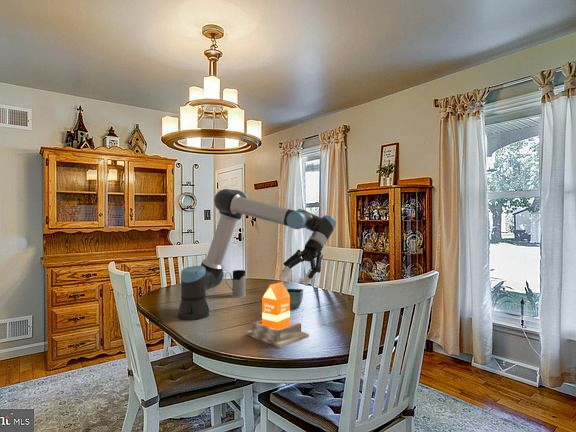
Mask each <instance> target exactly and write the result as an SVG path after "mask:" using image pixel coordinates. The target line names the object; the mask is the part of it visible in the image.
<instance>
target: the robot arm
mask: <svg viewBox="0 0 576 432" xmlns="http://www.w3.org/2000/svg"><path fill="white" fill-rule="evenodd" d="M213 203H214V206H215V208H216V210H218V213H219V216H220V217H219V220H218V223H217V226H216V229H215V232H214V234H213V238H212V240H211V243H210V246H209V249H208V252H207V255H206V258H204V259H202V260H201V264H200V265H193V266H187V267H185V268H183V269H181V273H180V303H179V306H178V309H177V312H176V313H177V314H176V316H177V318H178V319H179V320H186V321H188V320H189V321H193V320H194V321H195V320H201V319H204V318H207V317H208V316H210V309H209V305H208V302H207V300H206V299H207V297H206V294H207V293H206V291H208V290H210V289H214V288H216V287H217V286H219V285H220V284H221V283H222V282H223V280H224V279H225V272H224V264H223V262H224V259H225V255H226V253H227V250H228V247H229V244H230V241H231V238H232V236H233V233H234V230H235V227H236V224H237V222H238V221H240V220H241V219H242V216H243V215H244V216H248V217H251V218H256V219H260V220H263V221H267V222H271V223H275V224H279V225H283V226H286V227H288V228H291V229H293V230H300V229H306V230H309V231H311V232H312V234H311V235H310V236H309V238H308V240H307V241H306V242H305V244H304V249H303V250H302V251H301V250H300V249H299V248H298V249H297V250H296V252H295V253H293V254H292V255H291V256H290V257H289V258H288V259H286V260H285V261H284V262H283V266H284V268H283V269H282V271H281V274H280V275H279V277H278V279H279V280H280V282H283V283H284V282H285V280H286V278H287V277H288V276H289V273H290V272H291V269H292V268H293V267H296V266H297V265H298V264H300V263H304V262H309V263H310V269H309V270H308V271H307V273H306V274H305V276H304V277H303V279H302V281H301V282H302V284H303V285H304V286H305V287H307V286H308V285H309V283H310V281H311V280H312V279H313V278H314V276H315V274H316V273H321V271H322V260H323V258H324V254H323V253H322V250H323V248H324V247H325V245H326V243H327V242H328V239H330V237H331V235H332V233H333V232H334V230H335V228H336V226H337V220H336V219H335V218H334V217H332V216H331V215H330V214H329V215H328V214H325V215H323V216H322V217H320V216H318V215H316V214H313V213H312V212H310V211H307V210H305V209H302V208H297V210H293V209H289V208H286V207H282V206H278V205H275V204H271V203H265V202H262V201H257V200H253V199H250V198H249V197H248V195H247V194H246V193H245V192H244V191H242V190H239V189H230V188H223V189H220V190H219V191H218V192H216V194H215V196H214V198H213Z"/></svg>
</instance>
